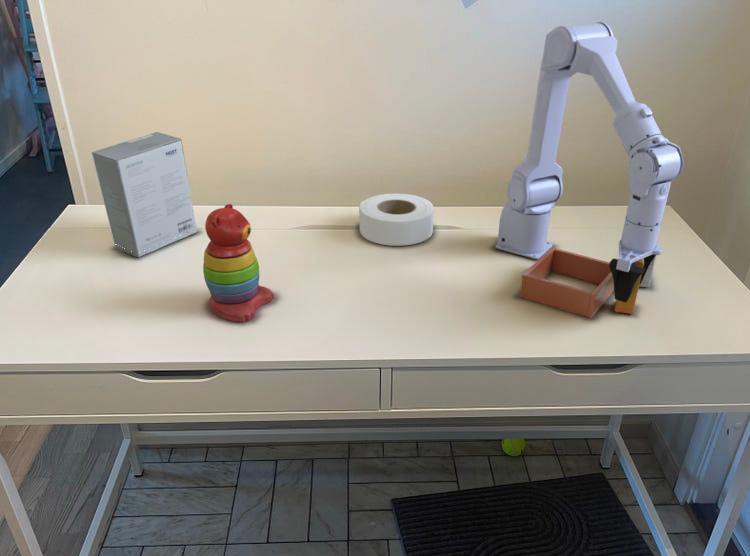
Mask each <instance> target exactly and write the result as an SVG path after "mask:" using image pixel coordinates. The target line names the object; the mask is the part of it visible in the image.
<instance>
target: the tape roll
mask: <svg viewBox="0 0 750 556" xmlns="http://www.w3.org/2000/svg"><path fill="white" fill-rule="evenodd" d="M434 209H435V208H434V205H433V203H432V202H431V201H430V200H428V199H426V198H424V197H421V196H419V195H414V194H408V193H383V194H377V195H374V196H373V195H372V196H370V197H368V198H366V199H364V200H362V201H361V202H360V203H359V206H358V219H359V221H358V222H359V224H358V225H359V233H360V235H361V236H362V237H363V238H364V239H366V240H367V241H369V242H372V243H376V244H379V245H384V246H391V247H393V246H394V247H395V246H396V247H400V246H411V245H416V244H419V243H423V242H425V241H427V240H428V239H430V238H431V236H433V233H434V213H435V212H434V211H435V210H434Z"/></svg>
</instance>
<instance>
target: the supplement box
mask: <svg viewBox="0 0 750 556" xmlns="http://www.w3.org/2000/svg"><path fill="white" fill-rule="evenodd" d="M634 264H636V267H640V268H643V266H644V258H643V259H640V260H638V261H636V262H635V263H634ZM640 279H641V275H640V276H639V278H638V280H637V281H636V283H635V286H634V288H633V291H632V293H631V296H630V298H629V299H628V301H627V302H622V301H619V300H615V304H614V312H615V313H621V314H622V313H623V314H629V315H633V314H634V313H635V307H636V302H637V299H638V298H637V297H638V292H639V288H640V287H639V284H640Z"/></svg>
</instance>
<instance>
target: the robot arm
mask: <svg viewBox="0 0 750 556" xmlns="http://www.w3.org/2000/svg"><path fill="white" fill-rule="evenodd" d="M617 50H618V39H617V38H616V36H614V33H613V30H612V28H611V26H610V25H609V24H608V23H607V22H604V21H597V22H595V23H585V24H576V25H558V26H556V27H555V28H554V29H552V30H551V31H550V32H548V33H547V34H546V35H545V40H544V47H543V54H542V58H541V62H540V69H539V76H538V82H537V87H536V94H535V101H534V106H533V112H532V121H531V127H530V134H529V140H528V148H527V153H526V157H525V158H524V159H523V160H522V161H521V162H520V163H519V164H517V166H516V167H514V168H513V169H512V175H511V178H510V180H509V182H508V183H507V186H506V187H507V188H506V198H507V201H508V202H506V203H505V204H504V206H503V208H502V210H501V213H500V217H499V223H498V224H499V225H498V232H497V233H498V234H497V244H496V245H495V249H497V250H500V251H504V252H507V253H511V254H515V255H519V256H521V257H526V258H529V259H533V260H539V259H540V258H541V257H542V256H543V255H545V254H546V253H547V252H548V251H549V250H550V249H551V248H552V247H553V246H554V244H553V243H552V242H548V233H549V228H550V227H549V226H550V220H551V212H552V209H555V206H556V205H555V204H556V203H557V202H559V201H560V200H561V198H562V196H563V192H564V183H563V174H564V170H563V168H562V167H561V166H560V165H559V164H558V162H556V160H557V154H558V148H559V143H560V138H561V133H562V132H561V131H562V126H563V120H564V116H565V115H564V114H565V109H566V103H567V98H568V91H569V87H570V80H571V77H572V76H574V75H575V74H577V73H579V74H584V75H587V76H590V77H592V79H593V81H594V82H595V83H596V85H597V86H598V88H599V89H600V92H602V94H603V96H604V97H605V100H606V101H607V102H608V104H609V106H610V107H611V109H612V110H613V112H614V113H615V114H614V118H613V121H612V126H613V128H614V130H615V132H616V134H617V136H618V138H619V140H620V142H621V144H622V145H623V147H624V149H625V152H626V154H627V156H628V157H629V160H630V161H628V162H627V174H628V177H629V186H628V189H629V193H630V194H629V199H628V204H627V209H626V214H625V218H624V224H623V228H622V233H621V237H620V240H619V242H618V258H611V260H610V261H609V263H610V264H609V268H610V270H611V273H612V276H613V280H614V291H613V292H614V293H613V294H614V300H615V301H616V300H619V301H622V302H627V301H628V299H629V298H630V296H631V293H632V291H633V288H634V286H635V283H636V281H637V280H638V278H639V276H640V275H641V279H640V284H641V282H642V280H643V278H644V276H645V274H646V272H647V269H648V267H649V265H650V264H651V262H652V260H653V259H654V257H655V256H656V257H657V256H660V255H661V254H662V253H663V250H664V248H663V247H662V246H659V245H658V246H657V243H658V239H659V235H660V230H661V227H662V223H663V218H664V214H665V210H666V205H667V201H668V197H669V194H670V193H669V192H670V189H671V186H672V185H671V184H672V181H673V180H676V179H677V178H678V177H679V176H680V175H681V174H682V171H683V169H684V156H683V153H682V151H681V147H680V146H679V145H677V144H676V143H674V142H670V140H669V139H668V138H667V137H664V135H663V134H662V132H661V130H660V128H659V126H658V123H657V122H656V120H655V119H654V116H653V111H652V110H651V108H650V107H648V105H647V104H646V103H642V102H638V101H636V98H635V96H634V95H633V92H632V89H631V87H630V85H629V83H628V80H627V78H626V75H625V73H624V71H623V67H622V66H621V63H620V62H619V58H618V57H617V54H616V53H617ZM643 258H644V266H643V268H640V267H636V264H634V263H635V262H636V261H638V260H640V259H643ZM640 284H639V285H640Z"/></svg>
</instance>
